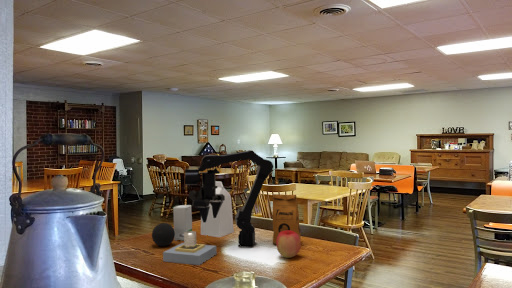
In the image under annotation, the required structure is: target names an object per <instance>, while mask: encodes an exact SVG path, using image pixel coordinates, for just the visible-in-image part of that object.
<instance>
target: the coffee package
mask: <svg viewBox="0 0 512 288" xmlns="http://www.w3.org/2000/svg"><path fill="white" fill-rule="evenodd" d="M297 198H298V197H297V194H281V193H279V194H278V193H276V194H273V195H272V212H271V215H272V217H271V218H272V231H273V236H272V244H274V245H276V240H277V236H278V234H279V233H280V232H281V231H286V230H290V231H294V232H295V233H297V234H298V235H299V237H300V241H301V234H302V233H301V227H300V214H299V208H298V207H299V206H298V199H297ZM301 242H302V241H301Z"/></svg>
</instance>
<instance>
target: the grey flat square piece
mask: <svg viewBox="0 0 512 288" xmlns="http://www.w3.org/2000/svg"><path fill="white" fill-rule="evenodd" d="M217 254H218V253H217V245H212V244H211V245H210V244H204V243H196V248H195V249H184V242H181V243H179V244H177V245H175V246H173V247H170V248H169V249H166V250H165V251H162V261H163V262H166V263H167V262H168V263H175V264H184V265H185V264H186V265H194V266H200V265H202V264H204V263H205V262H206V260H207V261H208V260H210V259H212V258H214V257H215V256H217ZM214 255H215V256H214ZM211 257H212V258H211ZM203 262H204V263H203Z"/></svg>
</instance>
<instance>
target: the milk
mask: <svg viewBox="0 0 512 288" xmlns="http://www.w3.org/2000/svg"><path fill="white" fill-rule="evenodd" d="M215 183H216V186H217V188H216V194H223V195H224V196H225V200H224V201H223V203H222V205H221V207H220V210H219V212H218V214H217V217H216V218H213V211H212V205H211V204H209V206H210V208H209V212H208V216H207V220H206V222H203V220H202V217H201V216H200V236H207V235H208V236H209V237H213V238H214V237H215V238H221V237H225V236H227V235H229V234H232V233H235V232H234V231H235V230H234V229H235V228H234V219H233V207H232V197H231V194H230V192H228V191H227V188H225V187H224V185H223V182H222V181H216V180H215Z"/></svg>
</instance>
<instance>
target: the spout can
mask: <svg viewBox="0 0 512 288" xmlns="http://www.w3.org/2000/svg"><path fill="white" fill-rule="evenodd" d="M179 236H180V237H184V241H183V243H184V249H195V248H196V244H197V232H196V230H195V231H194V230H192V231H187V232H184V234H180V235H179Z"/></svg>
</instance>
